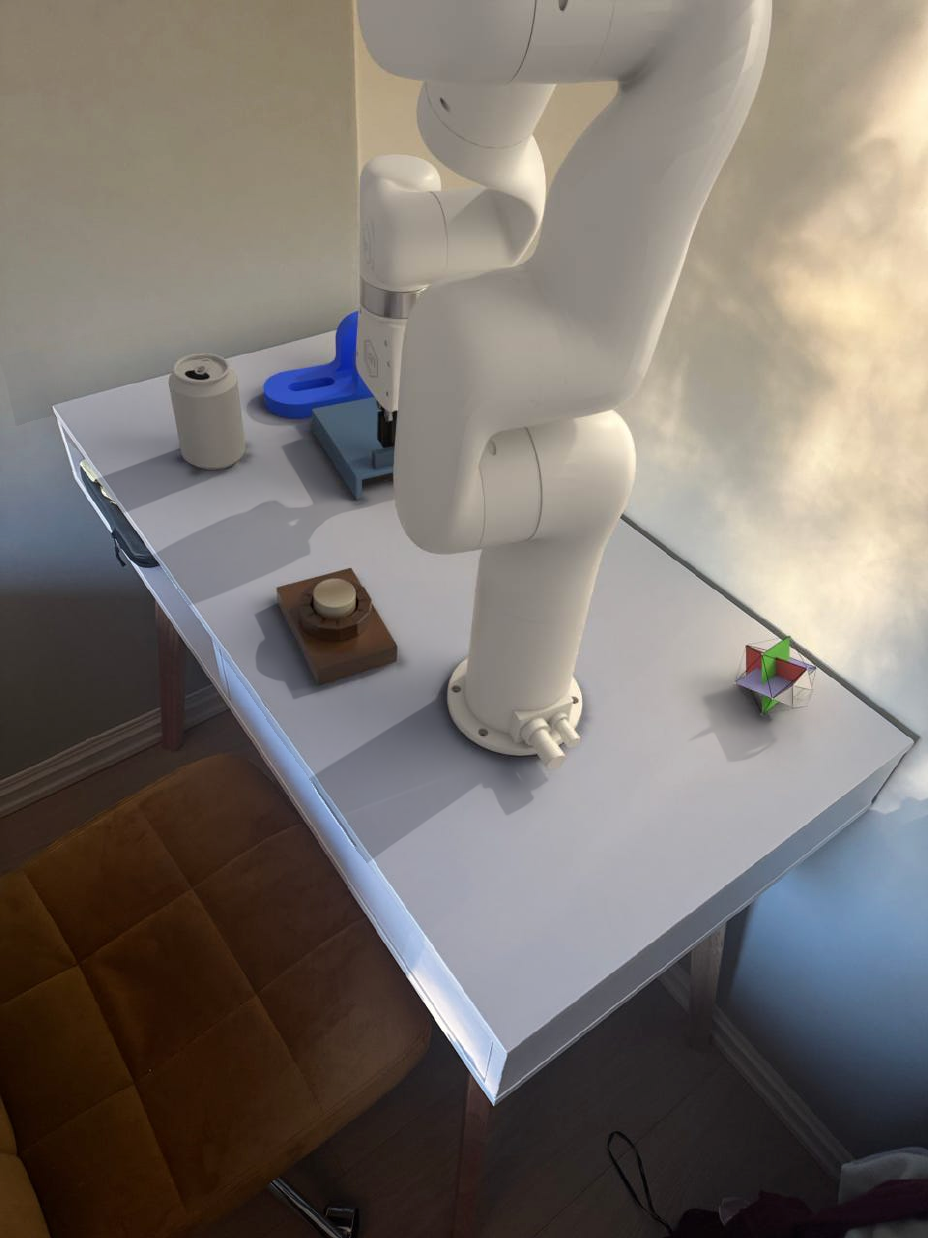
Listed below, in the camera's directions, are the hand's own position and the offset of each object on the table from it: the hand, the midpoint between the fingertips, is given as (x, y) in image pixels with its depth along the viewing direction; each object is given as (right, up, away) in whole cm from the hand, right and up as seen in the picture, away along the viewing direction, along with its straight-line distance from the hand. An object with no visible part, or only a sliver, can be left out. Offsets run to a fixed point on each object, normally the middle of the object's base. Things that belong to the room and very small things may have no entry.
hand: (392, 441), depth 104 cm
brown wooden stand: (-4, -22, -15) cm, 26 cm away
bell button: (-4, -19, -17) cm, 26 cm away
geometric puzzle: (+37, -28, -16) cm, 50 cm away
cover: (-3, -1, +7) cm, 7 cm away
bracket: (-9, +9, +16) cm, 21 cm away
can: (-22, -1, +5) cm, 22 cm away
